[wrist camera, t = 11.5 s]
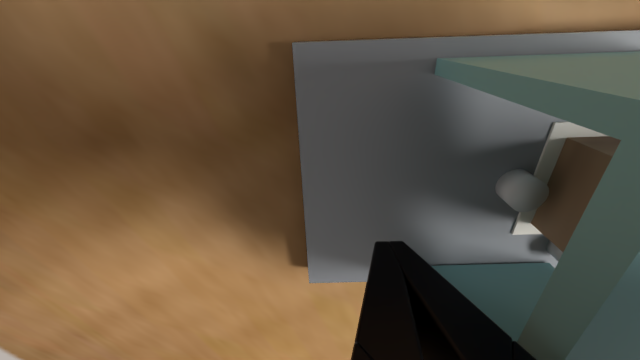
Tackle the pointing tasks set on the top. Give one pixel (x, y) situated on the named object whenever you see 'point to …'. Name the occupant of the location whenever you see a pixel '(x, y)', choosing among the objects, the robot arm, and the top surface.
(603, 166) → the block
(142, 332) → the top surface
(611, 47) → the base plate
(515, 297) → the housing cover
